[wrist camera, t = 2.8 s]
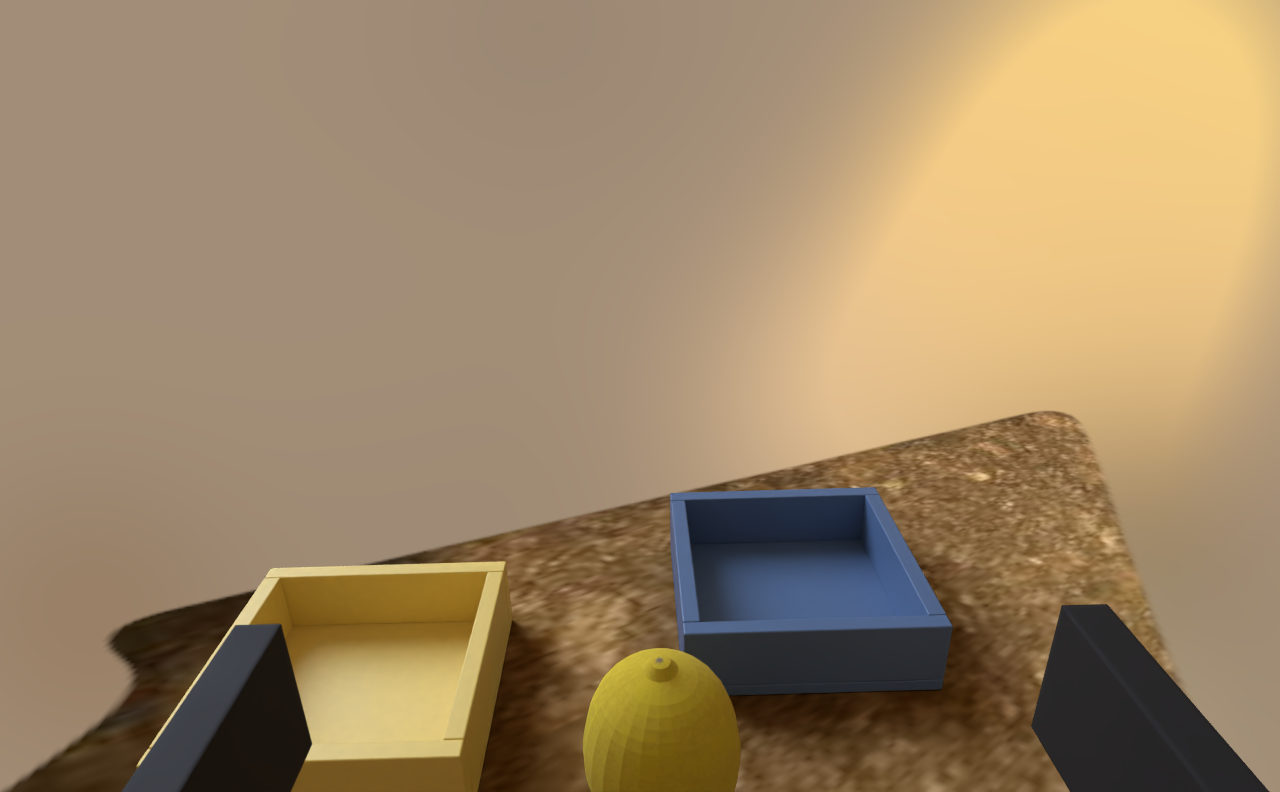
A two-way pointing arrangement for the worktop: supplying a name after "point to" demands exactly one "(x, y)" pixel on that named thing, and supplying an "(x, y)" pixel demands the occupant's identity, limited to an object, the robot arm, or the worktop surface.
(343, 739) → the yellow bin
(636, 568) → the worktop surface
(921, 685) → the blue bin
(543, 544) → the worktop surface
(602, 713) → the lemon
